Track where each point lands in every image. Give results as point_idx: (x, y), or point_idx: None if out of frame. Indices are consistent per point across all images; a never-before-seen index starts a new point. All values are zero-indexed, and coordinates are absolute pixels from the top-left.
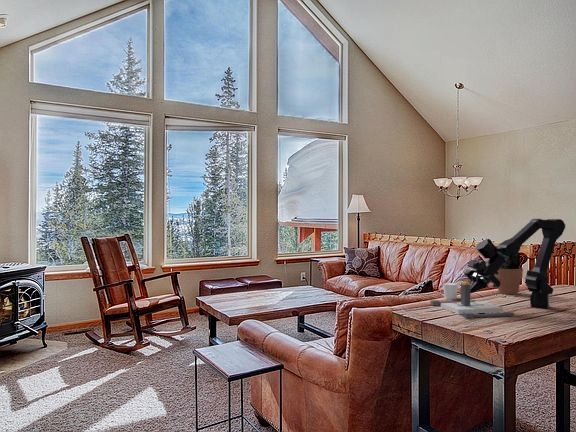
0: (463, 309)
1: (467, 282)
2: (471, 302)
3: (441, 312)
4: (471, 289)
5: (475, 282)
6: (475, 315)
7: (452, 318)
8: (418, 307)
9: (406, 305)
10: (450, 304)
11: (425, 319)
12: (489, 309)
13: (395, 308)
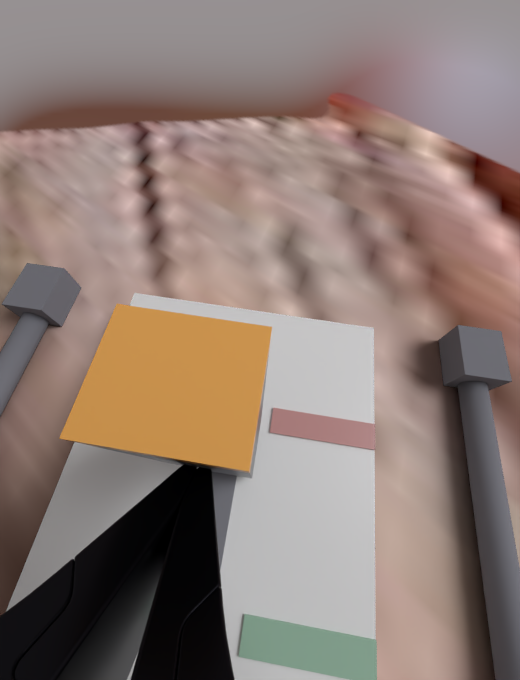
0: None
1: (92, 367)
2: (329, 635)
3: (240, 268)
4: (142, 501)
5: (7, 677)
6: (12, 331)
7: (100, 234)
8: (400, 241)
9: (464, 219)
10: (309, 361)
11: (152, 143)
12: (26, 578)
13: (395, 152)
